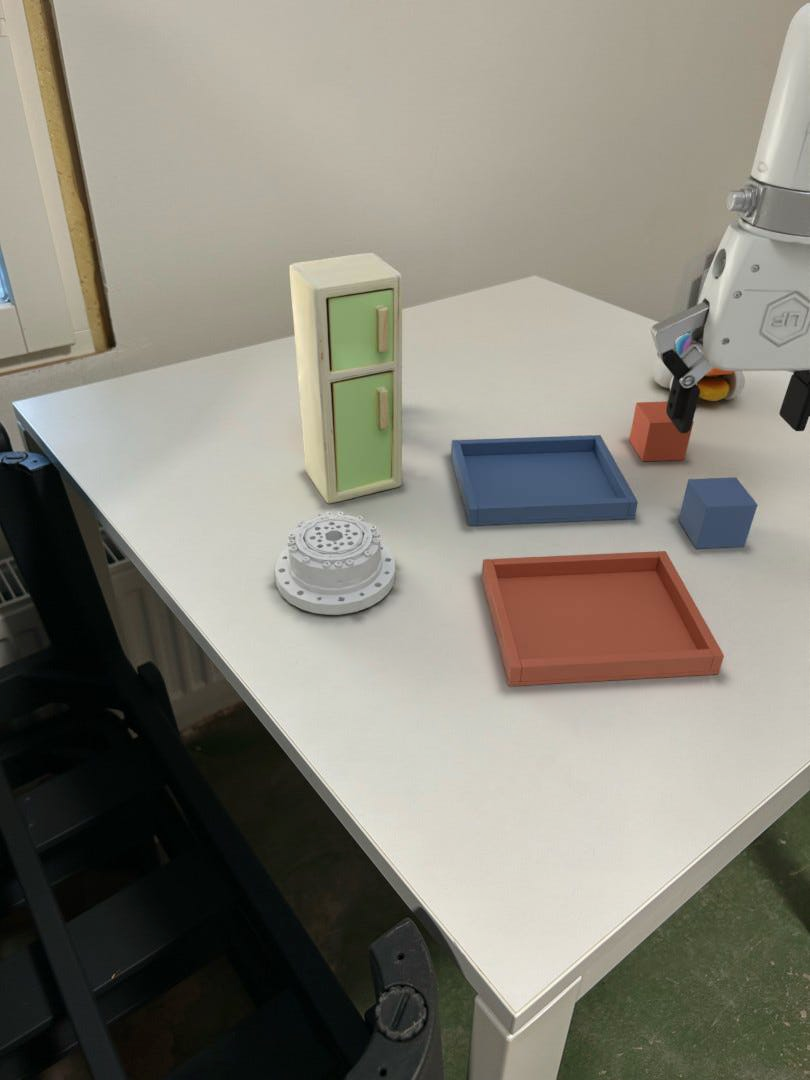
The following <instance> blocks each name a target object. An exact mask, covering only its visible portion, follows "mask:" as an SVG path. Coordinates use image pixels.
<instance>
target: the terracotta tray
mask: <svg viewBox="0 0 810 1080" xmlns="http://www.w3.org/2000/svg"><path fill="white" fill-rule="evenodd" d="M481 567H482V568H481V576H480V577H481V581H482V584H483V589H484V593H485V596H486V600H487V604H488V608H489V612H490V617H491V619H492V624H493V628H494V632H495V635H496V641H497V644H498V648H499V651H500V655H501V659H502V663H503V667H504V671H505V675H506V679H507V684H508V686H509V687H514V686H515V687H516V686H517V687H519V686H535V685H554V684H571V683H588V682H606V681H608V682H609V681H622V680H625V681H626V680H639V679H641V680H642V679H657V678H675V677H694V676H709V675H710V676H712V675H719V674H720V670H721V668H722V664H723V661H724V658H725V655H724V653H723V650H722V649H721V648H720V646H719V644H718V642H717V640H716V639H715V636H714V635H713V633H712V631H711V629H710V628H709V626H708V624H707V622H706V620H705V619H704V617H703V615H702V613H701V612H700V609H699V608H698V606H697V605H696V603H695V601H694V599H693V598H692V597H693V596H691V593H690V592H689V590H688V588H687V587H686V585H685V583H684V581H683V580H682V577H681V575H680V574H679V572H678V571H677V569H676V566H675V565H674V563H673V561H672V560H671V558H670V556H669V554H668V553H667V551H666V550H659V551H658V550H657V551H636V552H614V553H613V552H612V553H593V554H592V553H591V554H590V553H589V554H570V555H569V554H568V555H548V556H547V555H546V556H526V557H525V556H524V557H508V558H507V557H506V558H505V557H504V558H503V557H502V558H493V559H492V558H485V559H482V566H481Z"/></svg>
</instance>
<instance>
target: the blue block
mask: <svg viewBox="0 0 810 1080" xmlns="http://www.w3.org/2000/svg"><path fill="white" fill-rule="evenodd" d="M681 503H682V504H681V507H680V511H679V514H678V519H677V520H678V522H679V524H680V525H681V527H682V529H683V530H684V532H685V533H686V535H687V537H688V538H689V540H690V542H691V543H692V545H693V546H694V548H695V549H696V550H698V549H699V550H700V549H718V548H719V549H720V548H722V549H723V548H739V547H740V548H741V547H745V546H746V543H747V540H748V537H749V534H750V530H751V527H752V523H753V520H754V518H755V514H756V511H757V508H758V503H757V502H756V501H755V499H754V498H753V497H752V495H751V494H750V493H749V492H748V490H747V489H746V487H745V486H744V485H743V483H742V482H741V481H740V480H739V478H738V477H736V476H734V477H731V476H730V477H709V478H707V477H706V478H689V479H688V480H687V483H686V486H685V491H684V495H683V499H682V502H681Z"/></svg>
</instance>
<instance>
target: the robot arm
mask: <svg viewBox="0 0 810 1080" xmlns="http://www.w3.org/2000/svg"><path fill="white" fill-rule="evenodd" d="M756 149H757V150H756V151H755V156H754V159H753V164H752V168H751V172H750V175H749V176H748V177H746V181H745V184H744V188H740V189H739V190H730V191H729V192H728V193H727V195H726V199H725V209H726V210H727V211H728V212H736V213H737V216H738V217H739V218H738V220H733V221H730V222H729V225H728V226H727V228H726V230H725V232H724V234H723V236H722V238H721V240H720V243H719V245H718V247H717V249H716V252H715V253H714V257H713V259H712V261H711V264H710V266H709V269H708V272H707V275H706V277H705V280H704V283H703V286H702V290H701V293H700V295H699V298H698V302H697V304H695V305H693V306H691V307H689V308H687V309H685V310H682V311H681V312H679V313H676V314H674V315H672V316H670V317H668V318H666V319H663V320H661V321H659V322H657V323H655V324H653V325H652V326H651V328H650V334H651V337H652V340H653V343H654V344H653V345H654V347H655V349H656V352H657V353H656V354H657V357H658V359H659V358H660V360H661V361H662V362H663V363H664V365H665V366H666V367H667V368H668V369H669V371H670V372H671V373H672V374H673V376H674V378H673V382H672V386H671V390H670V389H669V395H668V399H667V401H668V403H667V408H666V412H667V415H668V417H669V418H670V420H671V421H672V422H673V424H674V425H675V427H676V428H677V429H678V431H679V432H680V433H688V431H690V430H691V426H692V422H693V421H694V418H695V415H696V410H697V406H698V402H699V399H700V397H699V395H700V389H699V388H698V386H697V385H696V383H697V382H698V381H699V380H700V379H701V378H703V377H704V376H705V375H706V374H707V373H708V372H709V371H710V370H712V369H713V368H716V369H719V370H725V371H742V372H784V371H785V372H788V371H793V374H792V375H791V376H790V379H789V382H788V385H787V388H786V391H785V394H784V396H783V397H784V398H783V400H782V403H781V406H780V410H779V416H780V417H781V418H782V420H784V421H785V422H786V423H787V425H788V426H789V427H790V428H791V429H792V430H794V431H795V432H804V431H805V429H806V427H807V424H808V421H809V418H810V2H807V3H806V4H804V5H803V6H801V7H800V8H799V9H798V10H797V11H796V13H795V14H794V16H793V17H792V19H791V21H790V23H789V26H788V29H787V32H786V36H785V39H784V41H783V46H782V49H781V54H780V58H779V62H778V65H777V70H776V74H775V77H774V81H773V85H772V90H771V93H770V97H769V101H768V105H767V109H766V113H765V117H764V120H763V125H762V129H761V133H760V137H759V140H758V145H757V148H756ZM689 333H690V334H691V335H690V341H691V344H692V345H691V346H689V347H688V348H687V349H686V350H685V351H684V352H683V353H682V354H681V355H680V356H679V355H678V354H677V351H676V346H675V344H676V342H677V340H678V339H679V338H680V337H682V336H683V335H686V334H689ZM693 423H694V422H693Z"/></svg>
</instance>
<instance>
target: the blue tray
mask: <svg viewBox="0 0 810 1080" xmlns="http://www.w3.org/2000/svg"><path fill="white" fill-rule="evenodd" d="M450 444H451V445H450V447H451V448H450V457H451V463H452V466H453V469H454V473H455V478H456V481H457V486H458V490H459V493H460V496H461V497H460V498H461V501H462V504H463V509H464V513H465V517H466V521H467V526H468V527H473V526H475V527H476V526H497V525H500V526H501V525H519V524H520V525H521V524H544V523H545V524H547V523H562V522H563V523H565V522H566V523H569V522H591V521H592V522H593V521H615V520H616V521H617V520H634V519H636V513H637V509H638V504H639V501H638V499H637V498H636V496H635V494H634V492H633V490H632V489H631V486H630V485H629V484H628V481H627V480H626V478H625V476H624V474H623V473H622V471H621V469H620V467H619V466H618V463H617V461H616V460H615V458H614V456H613V455H612V452H611V451H610V450H609V448H608V446H607V444H606V443H605V440H604V439H603V437H602V435H601V434H595V435H593V434H590V435H589V434H588V435H562V436H561V435H559V436H535V437H533V436H532V437H531V436H530V437H529V436H528V437H505V438H502V437H501V438H481V439H480V438H474V439H472V438H471V439H452V440H451V443H450Z"/></svg>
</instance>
